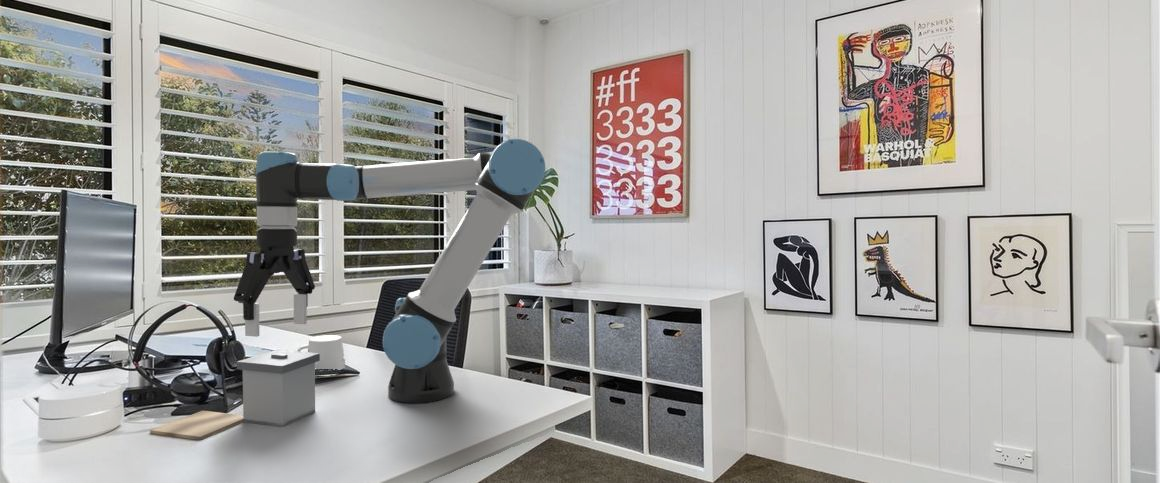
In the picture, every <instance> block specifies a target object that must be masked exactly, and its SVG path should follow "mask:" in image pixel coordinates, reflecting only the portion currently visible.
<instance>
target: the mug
mask: <svg viewBox="0 0 1160 483" xmlns="http://www.w3.org/2000/svg"><path fill="white" fill-rule="evenodd" d="M343 346H344V345H343V338H342V335H341V336H340V335H337V334H336V335H335V334H325V335H316V336H313V337H310V338H309V339H308V343H307V344H303V345H300V346H299V347H298V348H297V349H296V351H298V352H302V350H305V349H307V352H310V353H320V361H317V362H315V368H316V369H333V370H335V369H343V368H345V369H346V357H345V353H344V347H343Z"/></svg>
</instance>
